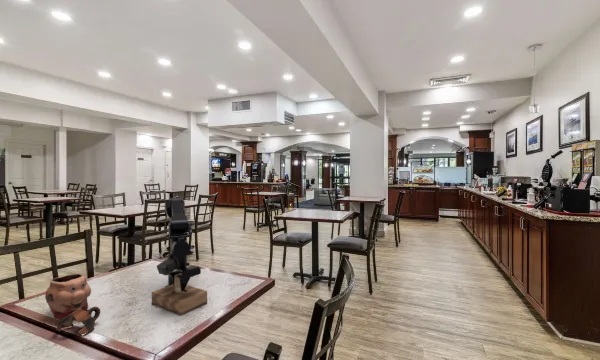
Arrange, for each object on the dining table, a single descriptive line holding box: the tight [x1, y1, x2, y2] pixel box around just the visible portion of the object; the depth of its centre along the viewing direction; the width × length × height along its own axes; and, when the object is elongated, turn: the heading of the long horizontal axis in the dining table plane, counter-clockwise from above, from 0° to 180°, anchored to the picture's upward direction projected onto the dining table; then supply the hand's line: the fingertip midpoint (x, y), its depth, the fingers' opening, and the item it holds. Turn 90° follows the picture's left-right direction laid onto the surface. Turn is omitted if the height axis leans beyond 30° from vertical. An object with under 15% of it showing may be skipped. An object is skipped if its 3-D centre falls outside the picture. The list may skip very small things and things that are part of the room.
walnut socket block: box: [151, 284, 208, 316], centre depth 116 cm, size 18×12×5 cm, turn 58°
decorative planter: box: [44, 273, 92, 321], centre depth 107 cm, size 20×12×14 cm, turn 66°
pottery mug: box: [55, 306, 101, 335], centre depth 97 cm, size 12×10×8 cm
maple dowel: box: [175, 274, 184, 294], centre depth 116 cm, size 4×4×9 cm
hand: (179, 290), depth 116 cm, fingers closed on maple dowel, 3 cm apart
